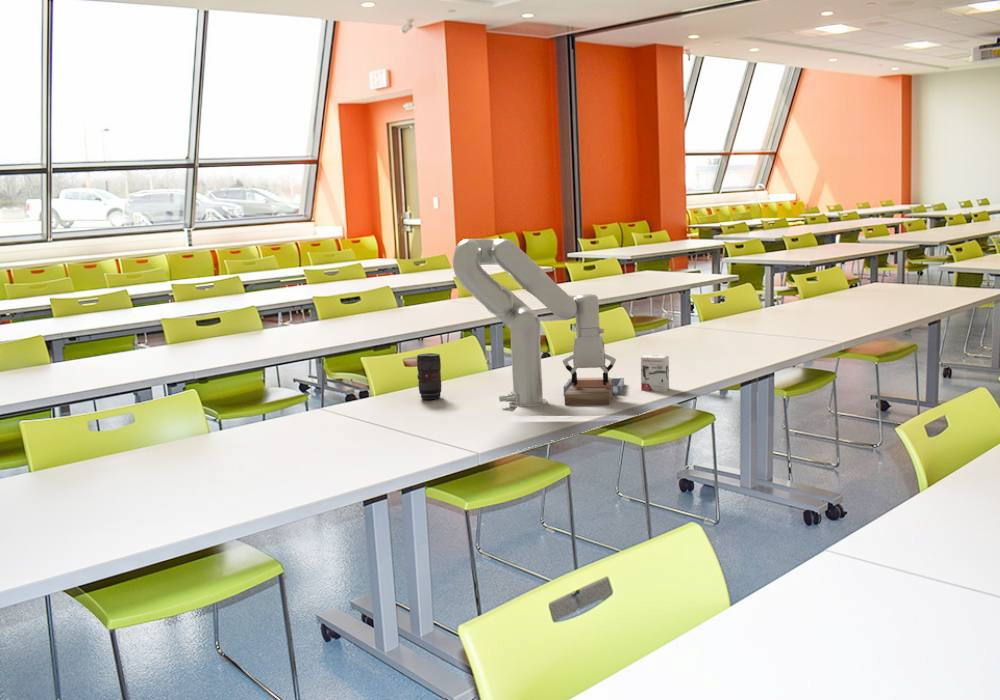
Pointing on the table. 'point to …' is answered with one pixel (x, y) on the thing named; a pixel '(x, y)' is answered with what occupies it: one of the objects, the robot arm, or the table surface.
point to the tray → (615, 381)
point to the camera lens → (429, 375)
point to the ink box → (655, 373)
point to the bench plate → (588, 395)
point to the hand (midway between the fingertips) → (590, 384)
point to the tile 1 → (592, 382)
